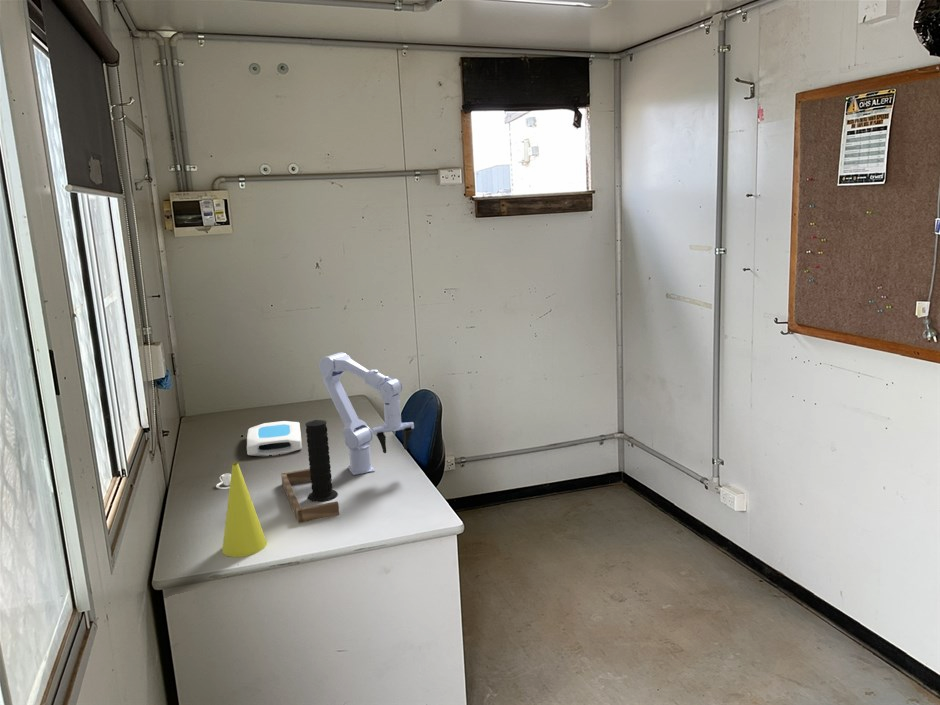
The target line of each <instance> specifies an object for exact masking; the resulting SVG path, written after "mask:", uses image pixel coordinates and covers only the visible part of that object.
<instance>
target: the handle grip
mask: <svg viewBox="0 0 940 705" xmlns="http://www.w3.org/2000/svg"><path fill="white" fill-rule="evenodd" d="M305 427H306V429H305V433H306V444H307V445H306V446H307V452H308V461H309V463H308V464H309V465H308V466H309V469H310V475H311V476H310V477H311V481H310V485H311V488H310V489H311V493H309V494H308V495H307V500H309V501H310V502H315V503H317V502H320V503H322V502H327V501H330V500H331V501H332V500H334V499H335V498H336V497H338V495H339V493H338V492H337V491H336V490H334V489H333V482H332V481H333V480H332V473H331V472H332V470H331V468H332V467H331V464H330V463H331V457H330V451H329V450H330V446H329V437H328V427H327V420H324V419H314V420H309V421H306V422H305Z"/></svg>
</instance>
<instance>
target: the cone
mask: <svg viewBox="0 0 940 705" xmlns="http://www.w3.org/2000/svg"><path fill="white" fill-rule="evenodd" d="M231 466H232V467H231V473H230V474H231V481H230V485H229V487H230V488H228V489H229V492H228V498H227V499H228V500H227V507H226V515H225V516H226V518H225V523H224V524H225V525H224V533H223V534H224V535H223V541H222V548H221V552H222V554H223V555H225V556H226V557H227V556H228V557H231V558H240V557H248V556H250V555H254V554H257V553H259V552H261V551H262V550H264V549H265V548H266V547H267V546H268V545H267V544H268V542H267V539H266V536H265V534H264V531H263V528H262V525H261V523H260V520H259V517H258V514H257V511H256V508H255V506H254V503H253V500H252V498H251V495H250V492H249V489H248V486H247V484H246V481H245V478H244V476H243V472H242V470H241V468H240V465H239V462H238V461H235V462H233V464H231Z"/></svg>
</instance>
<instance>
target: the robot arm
mask: <svg viewBox="0 0 940 705" xmlns="http://www.w3.org/2000/svg"><path fill="white" fill-rule="evenodd" d="M318 370H319V371H320V373H321V376H322V381H323V384H324V386H325V388H326V390H327V392H328V394H329V397H330V398H331V400H332V403H333V404H334V407H335V408H336V411H337V413H338V414H339V417H340V418H341V421H342V423H343V425H344V427H343V430H342V435H343V437H344V438H343V439H344V443H345V446H346V447H347V448H348V455H349V465H347V468H348V471H350V473H351V474H352V475H353V476H355V475H356V476H357V475H361V474H366V473H372V472H375V469H374V467H373V465H372V461H371V460H372V459H371V448H370V446H371V442H372V440H373V438H374V435H375V436H376V437H377V438H378V441H379V443H380V445H381V449H382V453H383V454H387V446H386V444H387V443H386V442H387V440H386V439H387V438H386V437H387V436H386V434H385V433H390V432H396V431H401V432H402V440H403V441H402V442H403V449H404V450H405V451H406V450H408V446H409V441H410V438H411V436H412V434H413V430H414V429H415V423H414V422H413V421H410V422H402V413H401V398H400V393H401V392H402V391H403V385H402V384H403V383H402V382H401V381H400V380H399V379H398V378H396V377H393V378H390V376H388V375H387V376H386V375H384V374H382V373H381V372H379V370H378V369H370V370H369V369H367V368H366V367H364V366H363V365H361V364H359V363H358V362H357V361H355V360H354V359H352V358H351V356H350V355H349V354H346V353H345V352H343V351H342V352H341V351H340V352H337V353H334V354H331V355H328V356H323V357H322V358H321V359H320V360H319V364H318ZM345 371H346V372H349V373H351V374H353V375H355V376H357V377H358V378H361V379H363V381H364V384H366V385H367V386H368V387H371V388H372V389H374V390H376V391H378V392H379V395H380V396H381V399H382V402H383V412H384V414H383V415H384V424H383V425H381V426H376V427H372V429H371V428H370V427H369V426H368V425H367V423H366V422H365V421H364V420H362V419H360V418H359V416H358V415H357V413H356V410H355V409H354V406H353V405H352V402H351V400H350V399H349V397H348V395H347V394H348V393H347V392H346V390H345V389H344V386H343V385H342V382H341V378H342V375H343V374H344V373H345Z"/></svg>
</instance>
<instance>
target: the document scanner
mask: <svg viewBox="0 0 940 705" xmlns="http://www.w3.org/2000/svg"><path fill="white" fill-rule="evenodd" d="M300 425H301V424H300V422H299V421H288V420H282V421H281V420H280V421H273V422H272V421H271V422H264V423H261V424H258V425H255V426H252V427H250V428H248V429H247V435H246V436H247V437H246V452H247V454H246V455H248V456H253V457H255V456H256V457H270V456H269V455H272V456H280V455H287V454H290V453H293V452H296V451H299V450H302V449H303V445H302V444H303V443H302V435H301V434H302V433H301V426H300ZM280 443H281V444H282V443H289V446H287V447H286V446H285V447H280V448H279V447H278V448H271V449H259V446H260V447H261V446H264V445H270V444H280ZM279 454H280V455H279Z"/></svg>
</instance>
